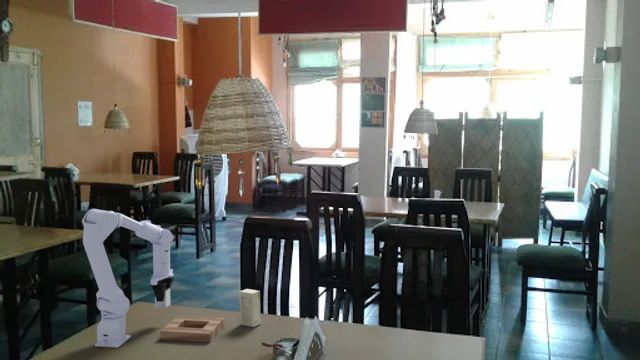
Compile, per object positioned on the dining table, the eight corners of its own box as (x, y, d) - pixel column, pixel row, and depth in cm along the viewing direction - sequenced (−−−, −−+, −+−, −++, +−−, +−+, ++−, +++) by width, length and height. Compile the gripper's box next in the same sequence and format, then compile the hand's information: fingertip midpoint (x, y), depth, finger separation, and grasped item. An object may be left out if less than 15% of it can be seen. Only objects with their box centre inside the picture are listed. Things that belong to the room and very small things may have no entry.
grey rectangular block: (166, 307, 200) (165, 291, 199) (155, 307, 200) (154, 290, 200) (170, 304, 204) (170, 287, 203) (159, 303, 204) (159, 287, 204)
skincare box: (261, 324, 202) (261, 290, 201) (253, 327, 199) (253, 293, 197) (247, 320, 206) (246, 287, 204) (239, 324, 202) (239, 290, 201)
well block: (210, 342, 185) (210, 333, 185) (160, 339, 188) (160, 330, 187) (224, 326, 200) (224, 318, 200) (178, 323, 202) (178, 315, 202)
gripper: (164, 267, 193) (164, 306, 194) (180, 257, 207) (181, 293, 208) (144, 266, 194) (145, 305, 195) (162, 256, 208) (162, 292, 209)
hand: (162, 299), depth 202 cm, fingers closed on grey rectangular block, 4 cm apart
